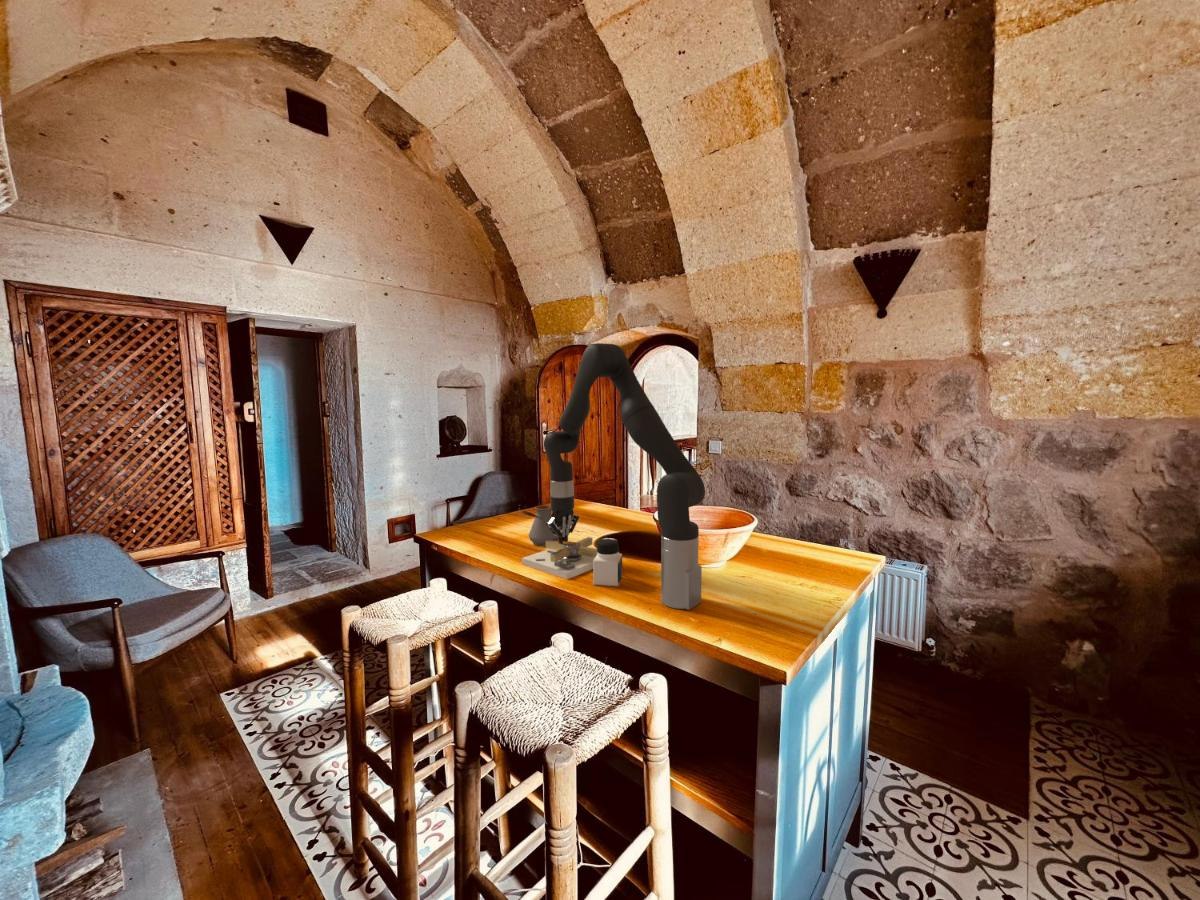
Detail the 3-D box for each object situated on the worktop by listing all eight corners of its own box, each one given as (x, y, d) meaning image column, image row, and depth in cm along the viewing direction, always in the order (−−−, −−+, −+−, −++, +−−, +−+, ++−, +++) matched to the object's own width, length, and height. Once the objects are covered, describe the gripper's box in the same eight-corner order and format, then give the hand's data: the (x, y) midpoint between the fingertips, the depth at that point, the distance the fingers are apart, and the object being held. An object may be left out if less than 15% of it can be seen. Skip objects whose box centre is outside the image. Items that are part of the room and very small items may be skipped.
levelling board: (609, 562, 156) (609, 550, 155) (566, 579, 142) (566, 566, 141) (565, 549, 169) (565, 539, 168) (522, 564, 155) (521, 552, 154)
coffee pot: (538, 536, 185) (536, 497, 183) (566, 539, 181) (565, 499, 179) (507, 554, 165) (506, 510, 163) (538, 557, 161) (537, 512, 159)
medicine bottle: (618, 586, 136) (618, 544, 134) (593, 585, 137) (592, 543, 136) (622, 577, 142) (622, 536, 141) (598, 575, 144) (597, 535, 143)
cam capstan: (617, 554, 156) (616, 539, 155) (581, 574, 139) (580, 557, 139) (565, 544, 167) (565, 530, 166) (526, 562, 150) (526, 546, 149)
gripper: (554, 499, 149) (556, 555, 151) (585, 492, 159) (586, 544, 161) (538, 496, 154) (540, 550, 156) (568, 489, 164) (570, 540, 166)
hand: (563, 547), depth 158 cm, fingers closed
